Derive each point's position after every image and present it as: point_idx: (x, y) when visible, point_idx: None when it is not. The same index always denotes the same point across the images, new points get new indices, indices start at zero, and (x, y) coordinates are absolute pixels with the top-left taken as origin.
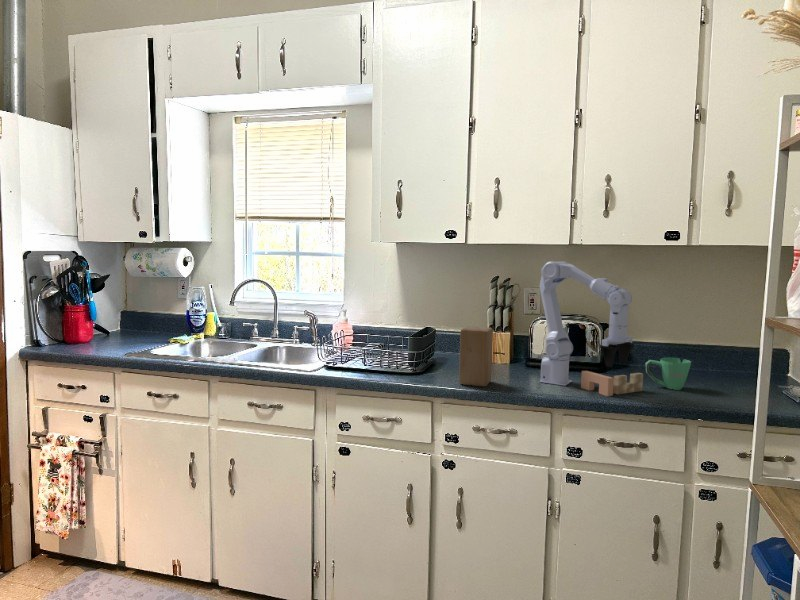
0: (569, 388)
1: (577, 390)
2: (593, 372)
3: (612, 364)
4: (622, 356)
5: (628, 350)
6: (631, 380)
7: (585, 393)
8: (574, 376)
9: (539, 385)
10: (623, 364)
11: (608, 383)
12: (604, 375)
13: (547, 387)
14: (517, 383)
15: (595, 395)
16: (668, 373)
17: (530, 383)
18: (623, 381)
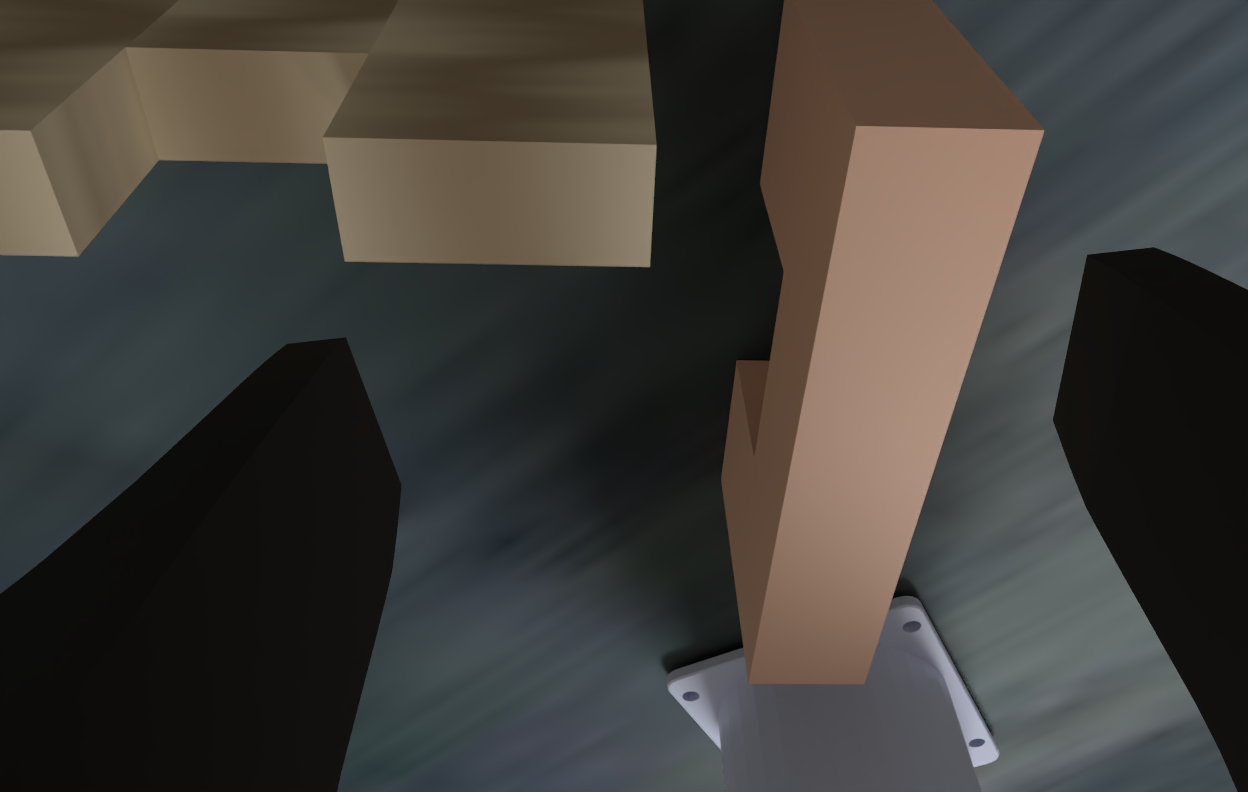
0: (965, 513)
1: (977, 419)
2: (774, 580)
3: (1194, 280)
4: (302, 630)
5: (22, 776)
6: (128, 141)
7: (1050, 271)
8: (433, 777)
9: (1117, 683)
10: (359, 375)
11: (990, 77)
12: (817, 366)
13: (1137, 615)
14: (1210, 775)
15: (1044, 122)
16: None
17: (1108, 746)
18: (466, 84)
